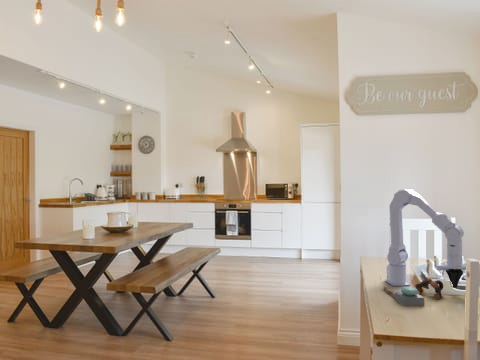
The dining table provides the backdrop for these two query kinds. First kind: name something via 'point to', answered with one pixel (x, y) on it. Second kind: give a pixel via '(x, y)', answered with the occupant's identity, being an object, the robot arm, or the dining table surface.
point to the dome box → (409, 299)
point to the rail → (389, 291)
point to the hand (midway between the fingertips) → (454, 287)
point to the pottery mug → (433, 284)
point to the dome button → (409, 291)
